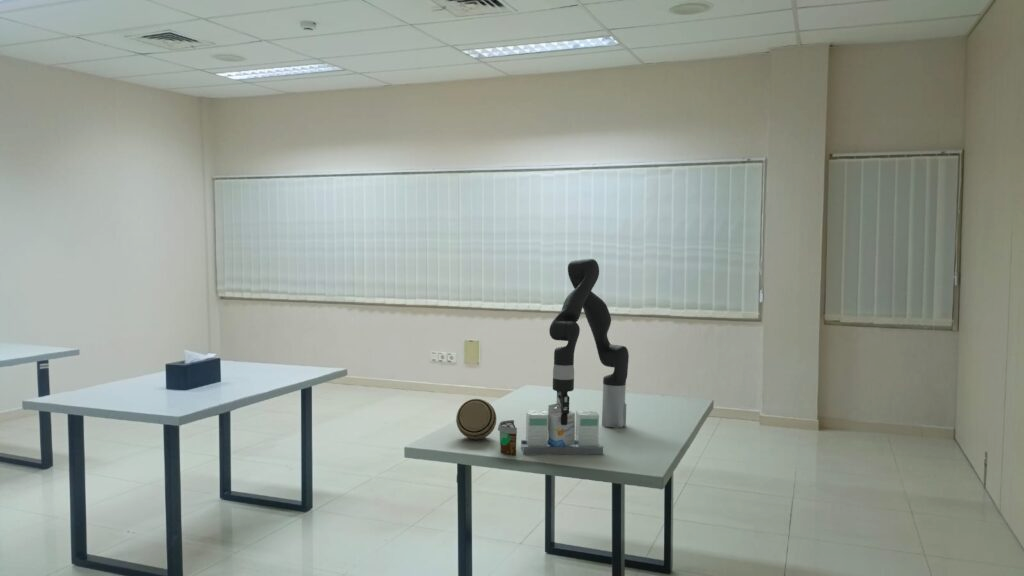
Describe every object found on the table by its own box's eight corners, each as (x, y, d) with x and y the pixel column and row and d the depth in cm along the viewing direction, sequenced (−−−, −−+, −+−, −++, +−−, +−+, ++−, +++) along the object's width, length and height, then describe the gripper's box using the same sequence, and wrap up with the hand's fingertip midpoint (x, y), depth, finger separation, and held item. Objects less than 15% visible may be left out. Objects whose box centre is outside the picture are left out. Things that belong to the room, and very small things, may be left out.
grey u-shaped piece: (597, 446, 268) (598, 410, 268) (603, 454, 259) (604, 416, 258) (521, 446, 266) (521, 409, 266) (523, 454, 256) (524, 415, 256)
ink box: (555, 449, 258) (555, 408, 256) (547, 444, 262) (547, 405, 260) (575, 444, 262) (575, 404, 260) (567, 440, 267) (567, 400, 264)
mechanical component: (448, 437, 277) (449, 397, 277) (480, 432, 286) (481, 393, 286) (470, 446, 265) (471, 404, 265) (503, 440, 275) (504, 400, 274)
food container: (496, 447, 265) (496, 419, 264) (513, 447, 265) (513, 419, 265) (498, 456, 252) (499, 427, 252) (516, 456, 253) (516, 428, 252)
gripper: (577, 380, 254) (576, 426, 255) (570, 373, 268) (569, 417, 269) (555, 380, 254) (554, 426, 254) (550, 373, 268) (549, 417, 269)
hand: (562, 422), depth 262 cm, fingers open, 8 cm apart
